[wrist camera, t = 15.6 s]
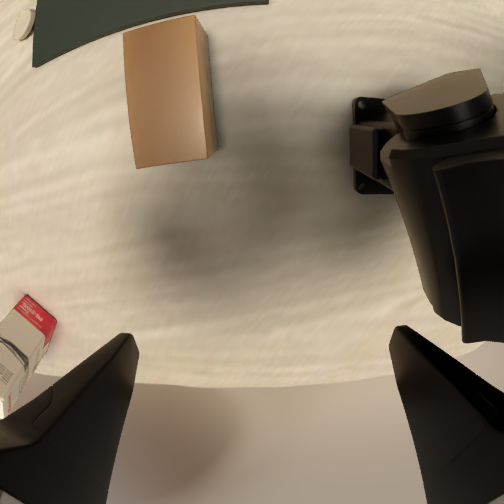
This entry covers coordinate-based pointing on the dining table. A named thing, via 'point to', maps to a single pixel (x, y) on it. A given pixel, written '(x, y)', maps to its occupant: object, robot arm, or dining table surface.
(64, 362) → the dining table surface
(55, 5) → the chalkboard
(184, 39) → the brown rectangular block
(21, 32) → the beige disc
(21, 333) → the ink box
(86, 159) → the dining table surface
